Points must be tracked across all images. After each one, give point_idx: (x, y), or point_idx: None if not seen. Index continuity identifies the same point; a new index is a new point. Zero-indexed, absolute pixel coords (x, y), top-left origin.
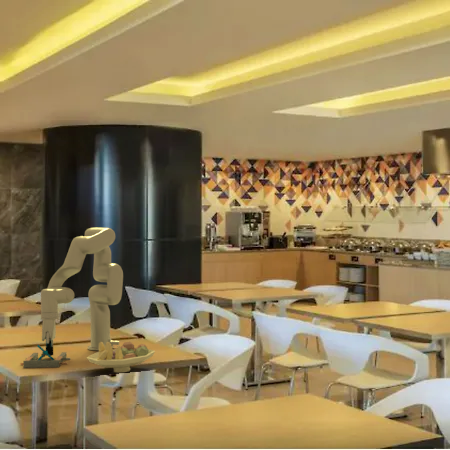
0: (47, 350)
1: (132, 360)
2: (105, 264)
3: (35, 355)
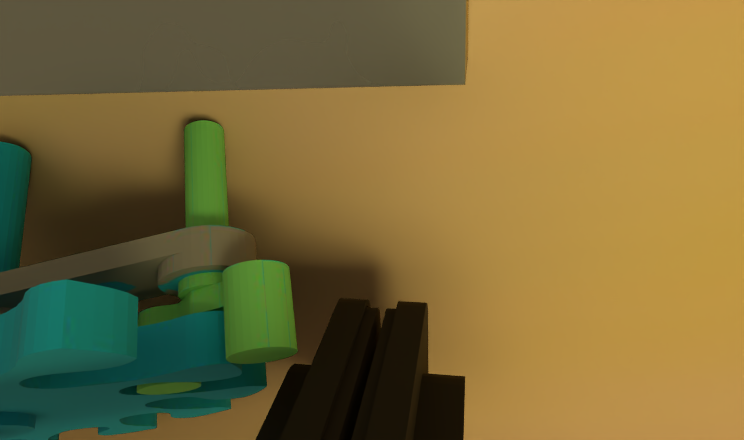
0: (266, 426)
1: None
2: None
3: (40, 92)
